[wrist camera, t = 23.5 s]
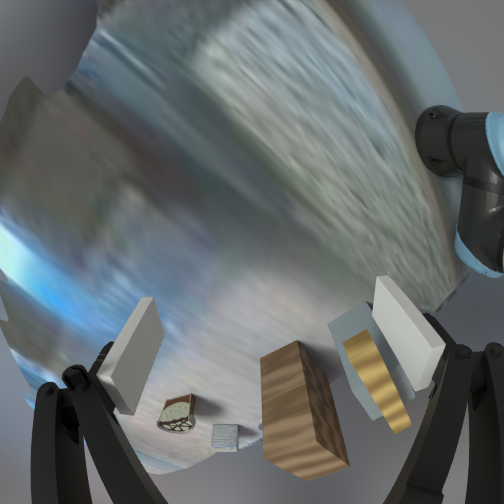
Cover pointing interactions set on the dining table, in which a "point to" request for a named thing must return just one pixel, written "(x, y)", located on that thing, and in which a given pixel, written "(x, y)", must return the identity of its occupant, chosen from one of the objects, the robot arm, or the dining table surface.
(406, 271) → the dining table surface
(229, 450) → the medicine box
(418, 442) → the robot arm
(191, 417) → the food container
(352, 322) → the light grey tall block
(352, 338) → the ochre bar
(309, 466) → the tall tower
